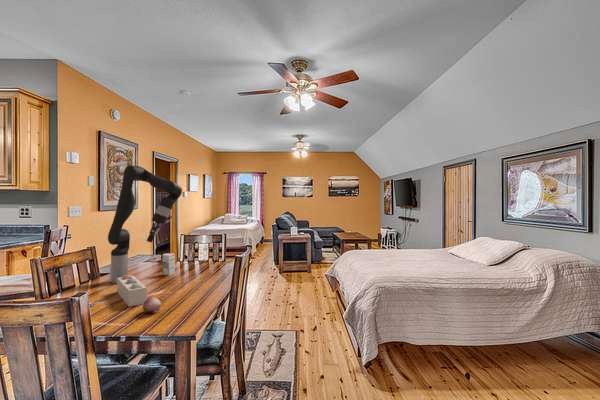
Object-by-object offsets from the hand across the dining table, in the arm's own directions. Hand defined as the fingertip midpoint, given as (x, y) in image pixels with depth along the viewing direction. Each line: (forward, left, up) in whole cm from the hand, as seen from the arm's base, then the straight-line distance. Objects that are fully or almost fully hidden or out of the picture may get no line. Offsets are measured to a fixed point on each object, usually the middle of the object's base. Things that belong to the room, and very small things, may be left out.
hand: (149, 241), depth 167 cm
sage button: (+6, -13, -22) cm, 26 cm away
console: (-4, -8, -29) cm, 30 cm away
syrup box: (-24, +35, -29) cm, 51 cm away
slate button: (-4, -8, -22) cm, 24 cm away
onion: (+24, -18, -29) cm, 42 cm away
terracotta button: (-13, -4, -22) cm, 26 cm away
